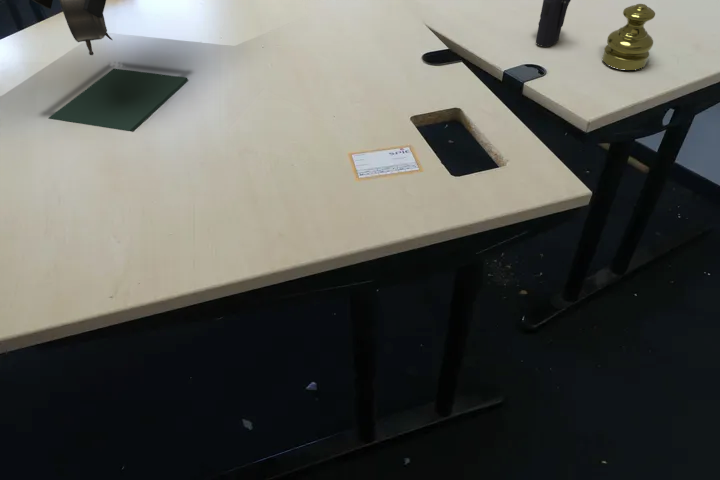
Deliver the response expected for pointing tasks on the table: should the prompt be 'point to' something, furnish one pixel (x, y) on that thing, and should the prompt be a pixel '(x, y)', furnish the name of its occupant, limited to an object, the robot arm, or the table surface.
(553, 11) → the two-way radio
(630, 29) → the gold round tapered piece
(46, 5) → the robot arm
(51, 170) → the table surface
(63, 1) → the alarm clock
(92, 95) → the desk mat
